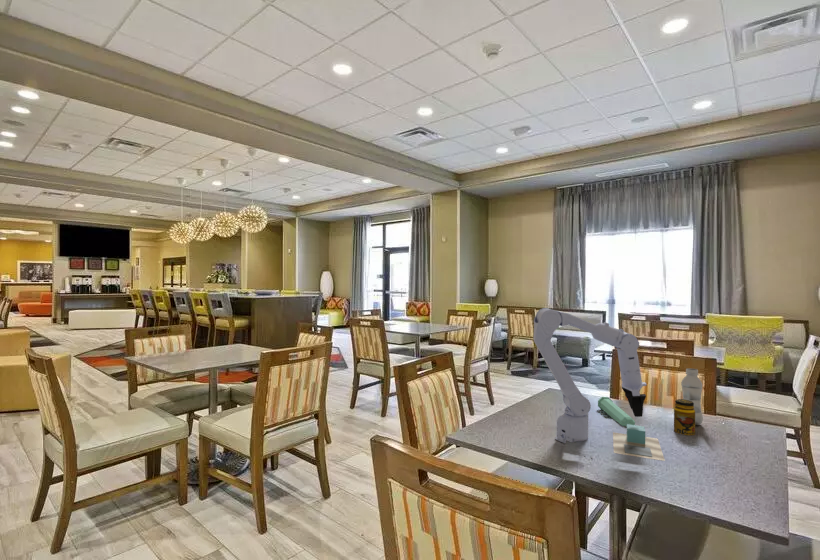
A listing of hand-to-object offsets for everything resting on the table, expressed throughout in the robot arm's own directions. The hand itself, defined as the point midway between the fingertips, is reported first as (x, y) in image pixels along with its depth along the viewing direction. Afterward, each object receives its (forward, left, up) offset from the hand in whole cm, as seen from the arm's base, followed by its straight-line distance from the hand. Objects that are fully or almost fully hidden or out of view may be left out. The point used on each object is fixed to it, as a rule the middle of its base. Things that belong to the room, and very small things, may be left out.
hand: (636, 412), depth 137 cm
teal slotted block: (-1, -1, -9) cm, 9 cm away
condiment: (+21, -1, -10) cm, 24 cm away
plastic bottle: (+36, +5, -10) cm, 38 cm away
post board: (-5, -4, -10) cm, 12 cm away
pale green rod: (+15, +20, -11) cm, 27 cm away
